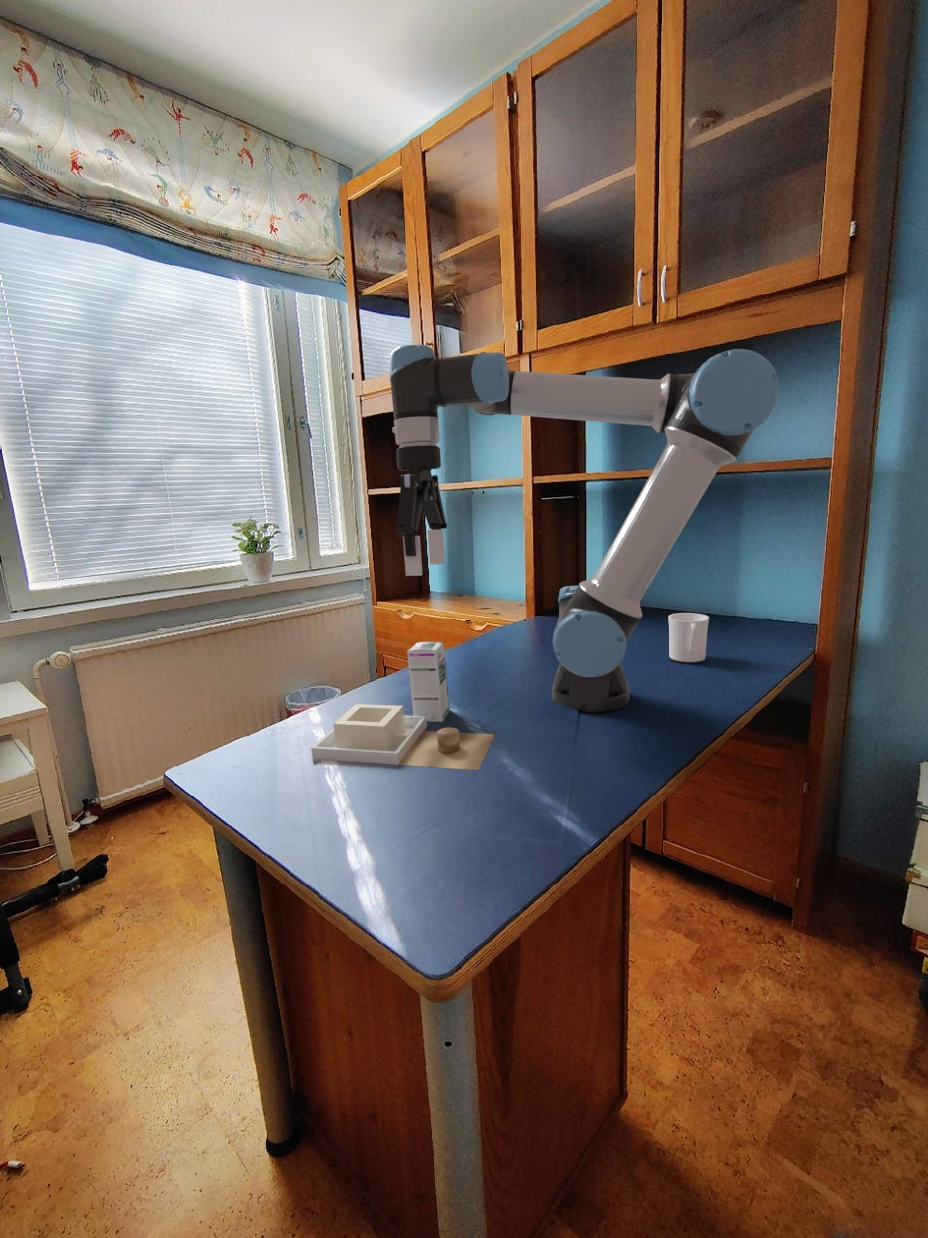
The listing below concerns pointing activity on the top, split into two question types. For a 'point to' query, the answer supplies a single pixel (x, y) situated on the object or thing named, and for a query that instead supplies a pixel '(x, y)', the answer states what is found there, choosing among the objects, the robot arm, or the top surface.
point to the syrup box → (428, 680)
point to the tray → (329, 751)
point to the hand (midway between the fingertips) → (426, 569)
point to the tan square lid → (448, 750)
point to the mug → (687, 637)
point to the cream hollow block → (371, 727)
